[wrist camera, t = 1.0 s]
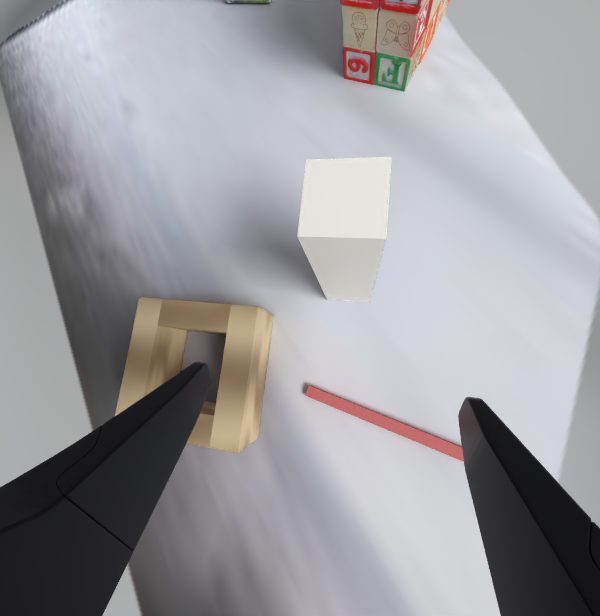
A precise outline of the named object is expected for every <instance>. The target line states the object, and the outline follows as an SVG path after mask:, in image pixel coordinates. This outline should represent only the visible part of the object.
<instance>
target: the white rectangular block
mask: <svg viewBox="0 0 600 616" xmlns="http://www.w3.org/2000/svg"><path fill="white" fill-rule="evenodd" d="M391 159H392V157H370V158H341V159H311V160H306V167H305V176H304V184H303V192H302V201H301V209H300V218H299V226H298V235H297V237H298V239H299V241H300V243H301V246H302V248H303V250H304V252H305V254H306V256H307V258H308V260H309V262H310V265H311V267H312V269H313V271H314V273H315V275H316V277H317V279H318V281H319V284H320V286H321V288H322V290H323V292H324V294H325V296H326V298H327V300H340V301H354V302H369V303H370V301H371V297H372V293H373V289H374V285H375V281H376V277H377V273H378V269H379V265H380V261H381V257H382V254H383V250H384V246H385V242H386V235H387V220H388V205H389V189H390V174H391Z"/></svg>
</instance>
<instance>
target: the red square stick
mask: <svg viewBox="0 0 600 616" xmlns="http://www.w3.org/2000/svg"><path fill="white" fill-rule="evenodd" d="M305 396H308V397H310V398H313V399H315V400H317V401H320V402H322V403H325V404H327V405H329V406H332V407H334V408H337V409H339V410H341V411H344V412H346V413H349V414H351V415H353V416H356V417H358V418H361V419H363V420H365V421H368V422H370V423H373V424H375V425H377V426H380V427H382V428H385V429H387V430H389V431H392V432H394V433H397V434H399V435H401V436H404V437H406V438H409V439H411V440H413V441H416V442H418V443H421V444H423V445H425V446H428V447H430V448H433V449H435V450H437V451H440V452H442V453H445V454H447V455H449V456H452V457H454V458H457V459H459V460H461V461H464V458H463V450H462V447H461V446H458V445H456V444H453V443H451V442H448V441H446V440H443V439H441V438H438V437H436V436H433V435H431V434H429V433H426V432H424V431H421V430H419V429H416V428H414V427H411V426H409V425H406V424H404V423H401V422H399V421H396V420H394V419H392V418H389V417H387V416H384V415H382V414H379V413H377V412H374V411H372V410H369V409H367V408H364V407H362V406H360V405H357V404H355V403H352V402H350V401H347V400H345V399H342V398H340V397H337V396H335V395H332V394H330V393H328V392H325V391H323V390H320V389H318V388H315V387H313V386H310V385H309V386H308V389H307V392H306V394H305Z"/></svg>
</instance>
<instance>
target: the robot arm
mask: <svg viewBox="0 0 600 616" xmlns="http://www.w3.org/2000/svg"><path fill="white" fill-rule="evenodd" d="M211 382H212V377H211V374H210V371H209V368H208V365H207V364H206V363H203V362H195V363H193V364H192V365H190V366H189V367H187V368H186V369H184V370H183V371H181V372H180V373H178V374H177V375H175V376H174V377H172V378H171V379H169V380H168V381H166V382H165V383H163V384H162V385H160V386H159V387H158V388H156V389H155V390H153V391H152V392H150V393H149V394H147V395H146V396H144V397H143V398H141V399H140V400H138V401H137V402H135V403H134V404H132V405H131V406H129V407H128V408H126V409H125V410H124V411H122V412H121V413H119V414H118V415H116V416H115V417H113V418H112V419H110V420H109V421H107V422H106V423H104V424H103V425H102V426H100V427H98V428H97V429H95V430H94V431H92V432H91V433H89V434H88V435H86V436H85V437H83V438H82V439H80V440H79V441H77V442H76V443H74V444H73V445H71V446H69V447H68V448H66V449H64V450H63V451H61V452H59V453H58V454H56V455H55V456H53V457H51V458H49V459H48V460H46V461H44V462H43V463H41V464H40V465H38V466H36V467H34V468H33V469H31V470H29V471H28V472H26V473H24V474H23V475H21V476H19V477H18V478H16V479H14V480H12V481H11V482H9V483H7V484H5V485H4V486H2V487H0V616H102V615H103V613H104V611H105V609H106V607H107V605H108V603H109V600H110V599H111V597H112V594H113V592H114V590H115V588H116V586H117V584H118V582H119V580H120V578H121V576H122V574H123V572H124V570H125V568H126V566H127V564H128V562H129V560H130V558H131V556H132V554H133V551H134V549H135V547H136V545H137V543H138V541H139V539H140V537H141V535H142V533H143V531H144V529H145V527H146V525H147V523H148V521H149V519H150V516H151V514H152V512H153V510H154V508H155V506H156V504H157V502H158V500H159V498H160V496H161V494H162V492H163V490H164V488H165V486H166V484H167V482H168V480H169V478H170V476H171V474H172V472H173V469H174V467H175V465H176V463H177V461H178V459H179V457H180V455H181V453H182V451H183V449H184V447H185V445H186V443H187V441H188V439H189V437H190V435H191V433H192V431H193V429H194V427H195V424H196V422H197V420H198V418H199V415H200V412H201V410H202V407H203V404H204V402H205V399H206V396H207V393H208V391H209V388H210V385H211ZM458 417H459V427H460V435H461V443H462V450H463V458H464V465H465V471H466V475H467V479H468V483H469V488H470V492H471V496H472V500H473V504H474V508H475V512H476V516H477V520H478V524H479V528H480V532H481V536H482V541H483V545H484V549H485V553H486V557H487V561H488V565H489V569H490V573H491V577H492V581H493V585H494V589H495V594H496V598H497V602H498V606H499V610H500V614H501V616H600V528H599V527H598V526H597V525H596V524H595V523H594V522H591V518H590V517H589V516H588V515H587V514H586V513H585V512H584V511H583V509H582V508H581V507H580V506H579V505H578V504H577V503H576V502H575V501H574V500H573V499H572V497H571V496H570V495H569V494H568V493H567V492H566V491H565V490H564V489H563V488H562V486H561V485H560V484H559V483H558V482H557V481H556V480H555V479H554V478H553V477H552V475H551V474H550V473H549V472H548V471H547V470H546V469H545V468H544V467H543V466H542V464H541V463H540V462H539V461H538V460H537V459H536V458H535V457H534V456H533V455H532V454H531V452H530V451H529V450H528V449H527V448H526V447H525V446H524V445H523V444H522V443H521V441H520V440H519V439H518V438H517V437H516V436H515V435H514V434H513V433H512V432H511V430H510V429H509V428H508V427H507V426H506V425H505V424H504V423H503V422H502V421H501V420H500V418H499V417H498V416H497V415H496V414H495V413H494V412H493V411H492V410H491V409H490V407H489V406H488V405H487V404H486V403H485V402H484V401H483V400H482V399H480V398H473V397H466V398H465V400H464V402H463V404H462V407H461V409H460V411H459V416H458Z"/></svg>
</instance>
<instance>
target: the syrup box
mask: <svg viewBox="0 0 600 616" xmlns="http://www.w3.org/2000/svg"><path fill="white" fill-rule="evenodd" d="M270 1H271V0H225V2H226V3H270Z"/></svg>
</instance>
